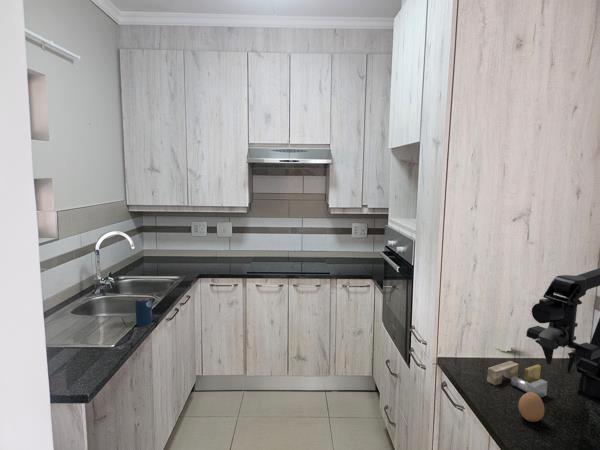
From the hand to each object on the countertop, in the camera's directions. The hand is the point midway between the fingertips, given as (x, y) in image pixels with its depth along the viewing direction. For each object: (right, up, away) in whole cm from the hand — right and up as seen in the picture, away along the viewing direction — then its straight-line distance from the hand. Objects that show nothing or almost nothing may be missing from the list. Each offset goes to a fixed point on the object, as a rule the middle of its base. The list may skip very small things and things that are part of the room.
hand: (558, 368), depth 122 cm
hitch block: (-9, -10, +17) cm, 21 cm away
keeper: (+1, -10, +16) cm, 19 cm away
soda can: (-149, -2, +61) cm, 161 cm away
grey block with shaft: (-5, -11, +11) cm, 16 cm away
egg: (-12, -13, -6) cm, 19 cm away
